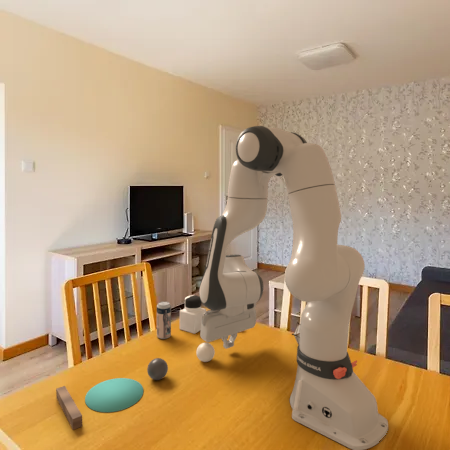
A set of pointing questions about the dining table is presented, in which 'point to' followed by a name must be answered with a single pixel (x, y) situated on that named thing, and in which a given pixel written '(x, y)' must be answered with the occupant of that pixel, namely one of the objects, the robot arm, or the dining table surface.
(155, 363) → the dark grey ball
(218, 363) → the dining table surface
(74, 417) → the walnut rail
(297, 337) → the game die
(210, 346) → the cue ball
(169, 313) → the beer can
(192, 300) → the medicine bottle
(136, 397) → the teal mark
